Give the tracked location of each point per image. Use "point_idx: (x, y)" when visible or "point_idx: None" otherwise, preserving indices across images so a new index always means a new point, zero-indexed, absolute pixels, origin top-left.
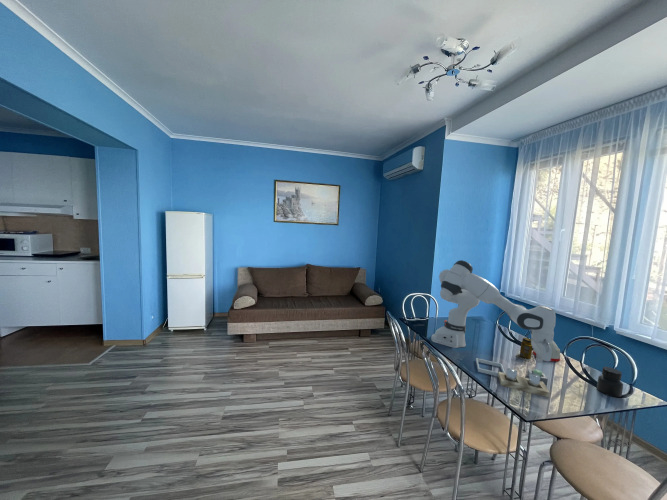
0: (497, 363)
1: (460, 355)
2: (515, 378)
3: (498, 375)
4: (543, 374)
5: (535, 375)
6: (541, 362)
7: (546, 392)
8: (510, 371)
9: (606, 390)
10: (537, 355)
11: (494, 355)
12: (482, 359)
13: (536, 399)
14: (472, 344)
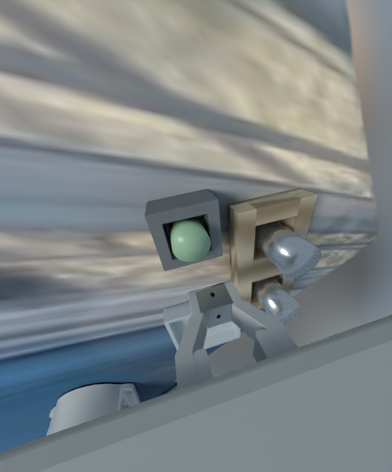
0: (170, 327)
1: (167, 365)
2: (283, 287)
3: None
4: (175, 215)
5: (302, 261)
6: (231, 282)
7: (313, 203)
8: (296, 315)
9: None
10: (202, 344)
11: (70, 340)
12: (177, 349)
13: (312, 220)
14: (45, 386)
